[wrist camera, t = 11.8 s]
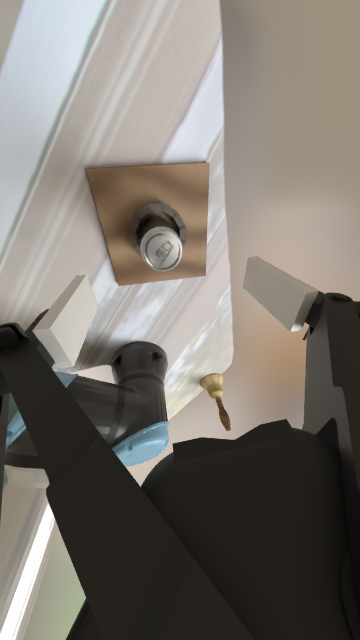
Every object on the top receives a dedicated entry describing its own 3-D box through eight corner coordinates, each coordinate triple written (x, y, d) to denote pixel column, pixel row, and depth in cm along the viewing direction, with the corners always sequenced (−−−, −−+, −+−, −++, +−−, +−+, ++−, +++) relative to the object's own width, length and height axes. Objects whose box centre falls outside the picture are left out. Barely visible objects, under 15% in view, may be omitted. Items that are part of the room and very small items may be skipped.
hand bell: (220, 386, 66) (238, 434, 53) (198, 389, 64) (212, 438, 51) (225, 372, 61) (247, 420, 48) (202, 374, 59) (218, 424, 47)
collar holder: (204, 273, 38) (209, 281, 35) (119, 283, 36) (116, 292, 33) (207, 163, 28) (215, 159, 24) (87, 169, 26) (79, 166, 23)
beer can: (154, 207, 29) (161, 216, 19) (177, 232, 32) (192, 251, 22) (134, 233, 31) (130, 253, 21) (157, 255, 33) (163, 281, 24)
